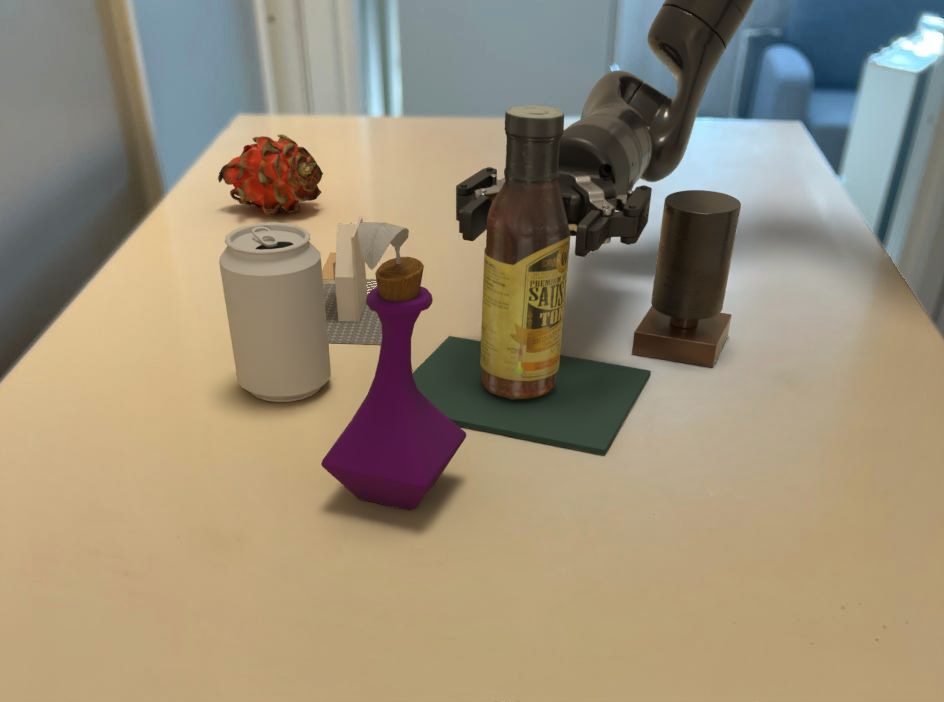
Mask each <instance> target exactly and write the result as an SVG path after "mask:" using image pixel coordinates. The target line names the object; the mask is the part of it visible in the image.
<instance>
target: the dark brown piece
mask: <svg viewBox="0 0 944 702" xmlns="http://www.w3.org/2000/svg"><path fill="white" fill-rule="evenodd" d="M741 208H742V203H741V201H740V200H739V199H738V198H737V197H734V196H733V195H730V194H728V193H727V194H726V193H723V192H720V191H713V190H702V189H689V190H688V189H687V190H679V191H675V192H672V193H670V194H668V195H667V196H665V198H664V202H663V210H662V218H661V226H660V232H659V241H658V248H657V255H656V261H655V262H656V263H655V270H654V279H653V285H652V292H651V293H652V294H651V299H650V300H651V301H650V303H651V306H650V307H649V309H648V310H647V312H646V313H645V315H644V316H643V318H642V320H641V322H640V323H639V324H638V325H637V327H636V329H635V330H634V332H633V340H632V348H631V354H632V355H636V356H643V357H648V358H654V359H660V360H666V361H671V362H672V361H673V362H678V363H684V364H690V365H697V366H702V367H708V368H713V367H715V363H716V361H717V360H718V357H719V355H720V353H721V350H722V349H723V346H724V344H725V342H726V340H727V338H728V336H729V332H730V331H729V330H730V326H731V320H732V313H725V312H722V311H723V308H724V304H725V303H724V302H725V296H726V291H727V285H728V280H729V274H730V269H731V264H732V258H733V252H734V247H735V242H736V235H737V230H738V226H739V225H738V224H739V220H740V219H739V218H740V214H741Z"/></svg>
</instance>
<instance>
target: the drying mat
mask: <svg viewBox="0 0 944 702" xmlns="http://www.w3.org/2000/svg"><path fill="white" fill-rule="evenodd" d="M480 357H481V340H476V339H471V338H465V337H459V336H453V335H449V336H448V337H446V338H445V340H444V341H443V342H442V343H441V344H440V345H439V346H438V347H437V348H436V349H435V350H434V351H433V352H432V353H431V354H430V355H429V356H428V357H427V358H426V359H425V360H424V361H423V362H422V363H421V364H420V365H419V366H418V367H417V368H416V369H415V370H414V371H412V374H413V379H414V381H415V384H416V386H417V389H418V390H419V391H420V392H421V393H422V394H423V395H424V396H425V397H426V398H427V399H428V400H429V401H430V402H431V403H432V404H433V405H434V406H435V407H436V408H437V409H438V410H440V411H441V412H442V413H443V414H444V415H446V416H447V417H448V418H449V419H450V420H452V421H453V422H454V423H455V424H456V425H458V426H459V427H460V428H466V429H472V430H476V431H480V432H486V433H491V434H495V435H501V436H506V437H510V438H516V439H521V440H526V441H530V442H531V441H532V442H536V443H540V444H546V445H551V446H554V447H555V446H556V447H560V448H561V447H562V448H566V449H570V450H571V449H572V450H577V451H581V452H585V453H590V454H597V455H601V456H605V455H606V454H607V452H608V450H609V448H610V446H611V445H612V444H613V442H614V440H615V438H616V436H617V435H618V432H619V431H620V430H621V427H622V426H623V424H624V422H625V421H626V419H627V417H628V415H629V414H630V412H631V410H632V408H633V406H634V405H635V403H636V401H637V399H638V398H639V396H640V394H641V392H642V390H644V387H645V385H646V384H647V382H648V380H649V378H650V377H651V372H652V371H651V370H650V369H644V368H637V367H632V366H626V365H621V364H614V363H609V362H604V361H603V362H602V361H599V360H592V359H586V358H580V357H574V356H570V355H569V356H568V355H563V354H560V362H559V369H558V371H557V373H556V381H555V383H554V386H553V388H552V390H551V391H550V392H549V393H547V394H546V395H542V396H540V397H536V398H531V399H515V400H512V399H507V398H504V397H501V396H497V395H494V394H492V393H490V392H489V391H488V390H487V389H485V387H484V386H483V382H482V367H481V364H480Z"/></svg>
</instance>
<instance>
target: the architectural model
mask: <svg viewBox="0 0 944 702" xmlns="http://www.w3.org/2000/svg"><path fill="white" fill-rule="evenodd" d="M363 219H364V218H363V216H362V215H361V216H359V218H358V220H357V223H337V229H336V230H337V231H336V232H337V233H336V249H335V252H329V254H328V257H327V259H326V261H325V263H324V265H323V267H322V277H323V289H324V300H325V311H326V322H327V334H328V344H355V345H356V344H358V345H381V342H382V324H381V322H380V319H379V317H378V314H377V312H375V311H373V310H371V309H370V308H369V307H368V305H367V303H366V298H367V295H368V294H369V293H368V294H367V292H370V291H371V290H369V291H367V290H368V289H373V288H377V287H378V286H376V285H377V284H373V283H377V281H376V278H374V279H372V278H367V269H366V262H365V260H364V259H363V257H362V254H361V248H360V243H359V238H358V226H359V223H362V222H364V220H363ZM371 281H376V282H371ZM367 282H371V283H367ZM369 284H373V285H369ZM366 285H368V286H366ZM371 286H376V287H371ZM367 287H370V288H367Z"/></svg>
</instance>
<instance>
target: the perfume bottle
mask: <svg viewBox="0 0 944 702" xmlns="http://www.w3.org/2000/svg"><path fill="white" fill-rule="evenodd" d="M409 233H410V230H409V228H407V227H404V226H401V225H396V224H393V223H388V222H381V221H380V222H376V221H363V222H362V223H359V226H358V238H359V243H360V248H361V254H362V257H363V259H364V260H365V265H366V266H367V267H368V268H369V269H370V271H373V270H374V269H375V268H376V267H377V265H378V264H379V262H380V260H381V259H382V257H383V256H384V254H385V253H386V251H387V250H388V247H389V246H390V245H391V246H392V247H393V248H394V250H395V257H393V258H390V259H388V260H386V261H384V262H382V263H381V264H380V265H379V267H378V268H376V269H377V270H376V271H375V272H374V275H375V279H376V281H377V286H378V287H377V288H374V289H372V290H371V291H370V293H369V294H368V295H367V298H366V303H367V305H368V307H369V308H370V309H371V310H373V311H375V312H377V314H378V317H379V319H380V322H381V324H382V342H381V344H380V349H379V354H378V360H377V365H376V369H375V373H374V374H375V375H374V377H373V379H372V382H371V384H370V387H369V390H368V392H367V394H366V395H365V398H364V399H363V400H362V402H361V404H360V405H359V407H358V409H357V410H356V412H355V414H353V416H352V419H351V420H350V421H349V423H348V424H347V425H346V427H345V428H344V429H343V431H342V432H341V433H340V435H339V437H338V438H337V439H336V440H335V442H334V443H333V445H332V446H331V448H330V449H329V450H328V451H327V453H326V454H325V456H324V457H323V459H322V460H321V464H320V465H321V467H322V468H323V469H324V470H325V471H327V472H328V473H329V474H330V475H331V476H332V477H333V478H334V479H335V480H337V481H338V482H339V484H341V485H342V486H343V487H344V488H345V489H346V490H348V491H349V492H350V493H351V494H352V495H353V496H354V497H355V498H357V499H358V500H361V501H366V502H370V503H374V502H375V503H374V504H380V505H383V504H384V506H388V507H392V506H394V507H393V508H396V507H398V508H397V509H401V508H402V510H405V509H407V510H406V511H414V510H416V508H417V507H418V506H419V505H420V504H421V502H422V501H423V500H424V498H425V497H426V496H427V494H428V493H429V492H430V490H431V489H432V488H433V486H434V485H435V484H436V482H438V480H439V479H440V477H441V476H442V474H443V472H444V471H445V469H447V466H448V465H449V464H450V462H451V461H452V459H453V458H454V456H455V454H456V453H457V451H459V449H460V447H461V446H462V444H463V442H465V439H466V438H467V432H466V431H465V430H464V429H463V428H462V427H461V426H458V425H456V424H455V423H454V422H453V421H452V420H450V419H449V418H448V417H447V416H446V415H444V414H443V413H442V412H441V411H440V410H438V409H437V408H436V407H435V406H434V405H433V404H432V403H431V402H430V401H429V400H428V399H427V398H426V397H425V396H424V395H423V394H422V393H421V392H420V391H419V390H418V389H417V386H416V384H415V381H414V379H413V374H412V373H413V366H412V365H413V364H412V338H413V333H414V328H415V324H416V322H417V320H418V318H419V316H420V314H421V312H423V311H426V310H428V309H429V308H430V306H431V305H432V304H433V294H432V292H430V291H429V290H428V288H426V287H425V286H421V285H422V280H423V274H424V268H425V265H424V263H423V262H422V261H421V260H420V259H418V258H415V257H411V256H401V253H400V250H401V247H402V246H403V245H404V243H405V242H406V241H407V240H408V238H409ZM421 500H422V501H421ZM413 509H414V510H413Z"/></svg>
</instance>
